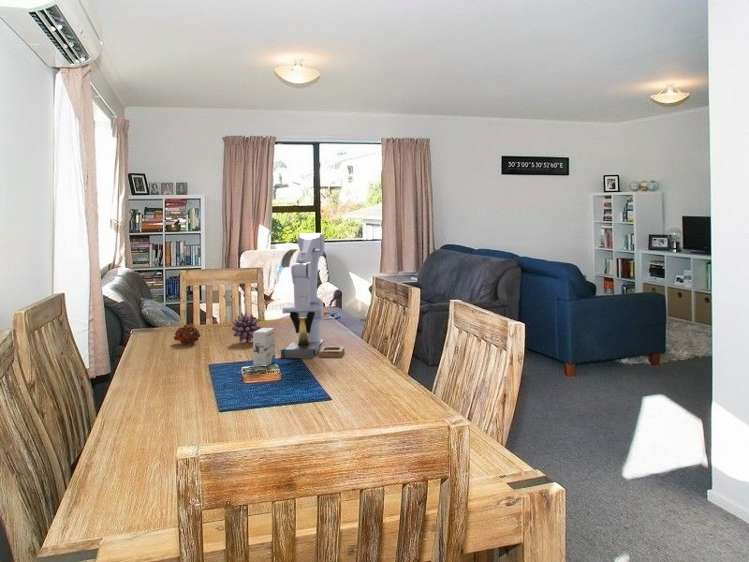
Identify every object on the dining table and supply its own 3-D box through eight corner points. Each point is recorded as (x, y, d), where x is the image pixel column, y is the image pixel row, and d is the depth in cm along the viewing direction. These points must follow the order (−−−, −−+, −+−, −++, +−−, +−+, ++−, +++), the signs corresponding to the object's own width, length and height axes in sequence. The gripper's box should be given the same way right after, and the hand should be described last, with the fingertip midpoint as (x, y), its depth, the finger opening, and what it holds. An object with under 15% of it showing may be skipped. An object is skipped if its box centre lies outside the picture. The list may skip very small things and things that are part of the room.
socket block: (292, 350, 233) (292, 342, 233) (319, 349, 232) (318, 342, 232) (285, 357, 220) (284, 349, 220) (313, 357, 219) (312, 349, 219)
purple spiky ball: (247, 338, 259) (246, 310, 258) (267, 341, 252) (266, 312, 251) (225, 343, 249) (224, 313, 248) (246, 346, 242) (245, 316, 241)
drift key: (282, 355, 224) (282, 347, 224) (307, 355, 223) (307, 347, 223) (280, 357, 221) (280, 349, 221) (306, 357, 220) (305, 349, 220)
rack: (322, 352, 228) (322, 346, 228) (344, 352, 228) (344, 346, 227) (319, 357, 220) (319, 351, 220) (341, 356, 220) (341, 351, 219)
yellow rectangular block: (299, 342, 230) (298, 317, 229) (309, 342, 230) (308, 317, 229) (297, 344, 227) (296, 318, 226) (307, 344, 226) (306, 318, 226)
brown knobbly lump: (198, 349, 247) (177, 351, 253) (209, 333, 252) (188, 336, 258) (185, 334, 242) (165, 336, 248) (197, 319, 248) (176, 321, 254)
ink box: (262, 360, 216) (261, 327, 215) (276, 361, 215) (275, 327, 214) (253, 366, 208) (251, 332, 207) (267, 367, 207) (266, 332, 206)
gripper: (279, 297, 223) (281, 334, 225) (319, 297, 222) (321, 334, 224) (284, 295, 230) (285, 331, 232) (323, 294, 229) (324, 330, 231)
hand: (303, 332), depth 228 cm, fingers closed on yellow rectangular block, 4 cm apart
